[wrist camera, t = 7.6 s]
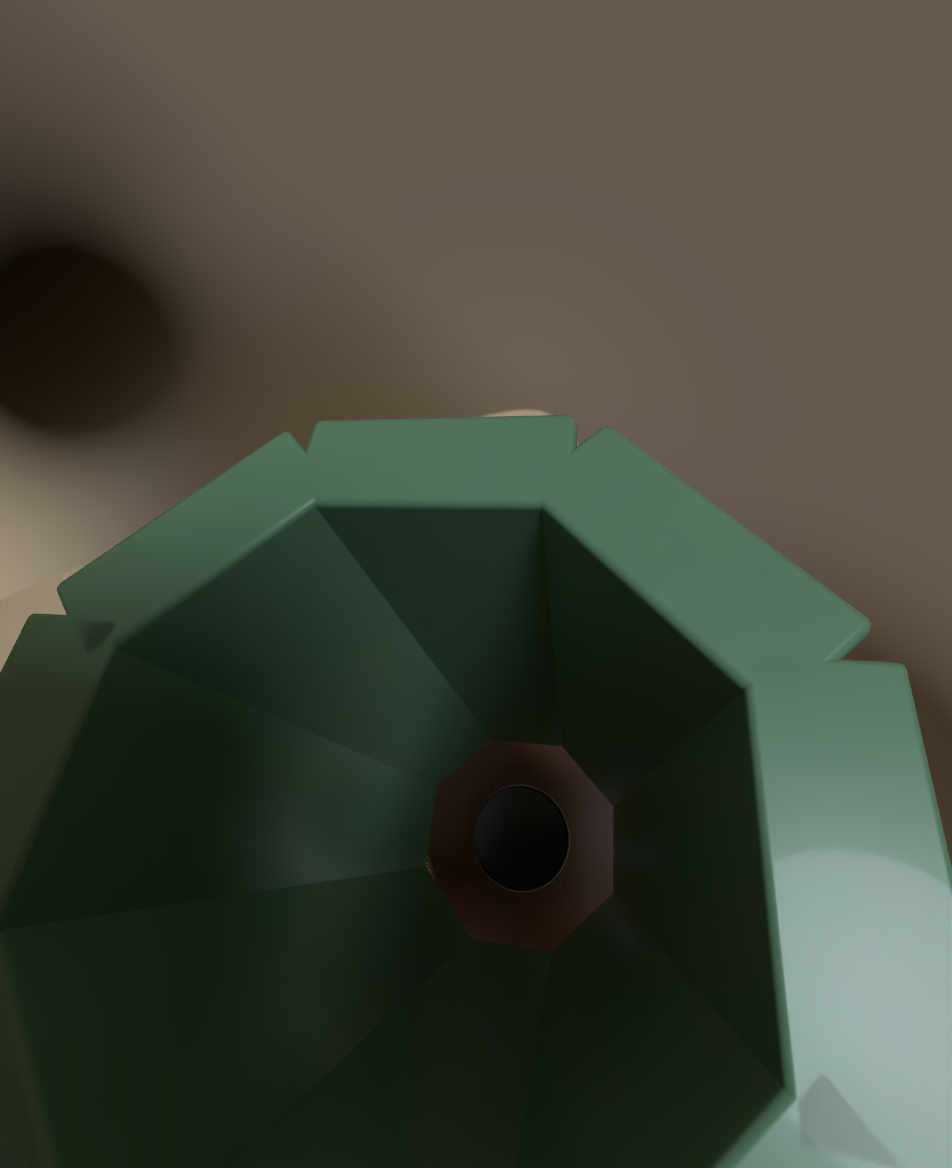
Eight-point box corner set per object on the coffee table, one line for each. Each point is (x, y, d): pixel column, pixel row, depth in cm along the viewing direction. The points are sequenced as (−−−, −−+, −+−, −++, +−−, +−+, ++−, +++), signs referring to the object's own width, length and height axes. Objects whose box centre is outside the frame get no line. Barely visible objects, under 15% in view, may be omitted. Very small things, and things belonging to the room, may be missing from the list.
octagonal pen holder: (712, 861, 12) (1296, 927, 2) (502, 1068, 11) (21, 2646, 1) (532, 662, 15) (457, 308, 5) (349, 815, 14) (-182, 742, 4)
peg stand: (680, 910, 17) (731, 941, 12) (475, 997, 17) (431, 1069, 11) (583, 705, 20) (588, 655, 15) (410, 777, 20) (352, 753, 15)
